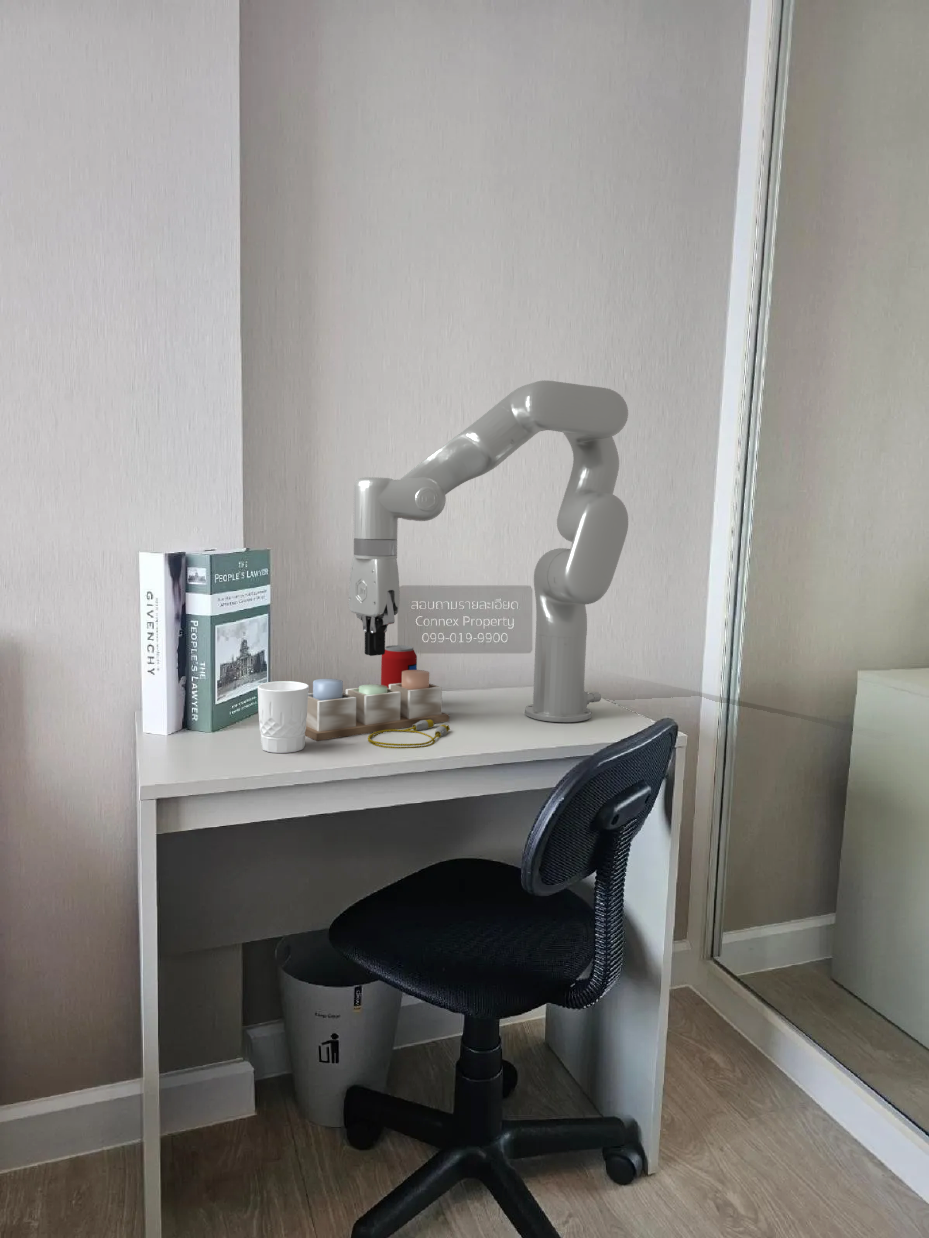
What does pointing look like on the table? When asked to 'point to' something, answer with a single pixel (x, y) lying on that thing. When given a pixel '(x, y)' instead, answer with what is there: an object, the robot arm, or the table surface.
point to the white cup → (282, 715)
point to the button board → (373, 711)
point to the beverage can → (397, 663)
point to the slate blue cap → (327, 689)
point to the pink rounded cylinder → (415, 679)
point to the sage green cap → (372, 689)
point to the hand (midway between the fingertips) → (374, 654)
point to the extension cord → (416, 727)
